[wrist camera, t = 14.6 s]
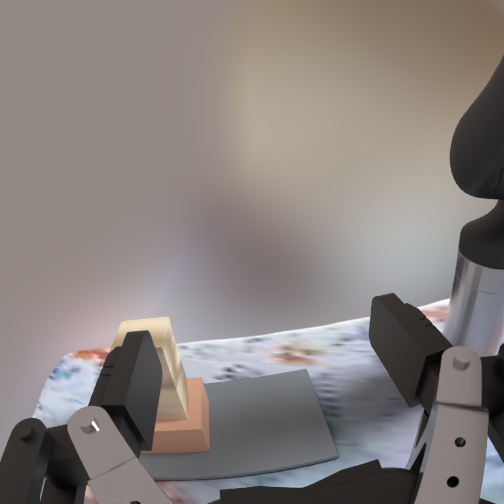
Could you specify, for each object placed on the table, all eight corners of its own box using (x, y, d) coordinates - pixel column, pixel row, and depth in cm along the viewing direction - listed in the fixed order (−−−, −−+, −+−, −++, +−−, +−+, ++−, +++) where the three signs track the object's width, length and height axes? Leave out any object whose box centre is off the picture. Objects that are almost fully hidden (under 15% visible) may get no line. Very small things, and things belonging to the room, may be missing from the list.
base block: (149, 405, 36) (138, 382, 35) (208, 401, 37) (201, 377, 35) (142, 453, 29) (127, 431, 27) (209, 451, 30) (201, 428, 28)
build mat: (144, 391, 40) (142, 388, 40) (306, 371, 41) (306, 368, 41) (128, 478, 26) (126, 476, 26) (338, 457, 27) (338, 455, 27)
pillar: (148, 390, 34) (122, 321, 30) (189, 387, 34) (168, 316, 30) (143, 421, 29) (109, 350, 25) (187, 419, 29) (161, 346, 26)
